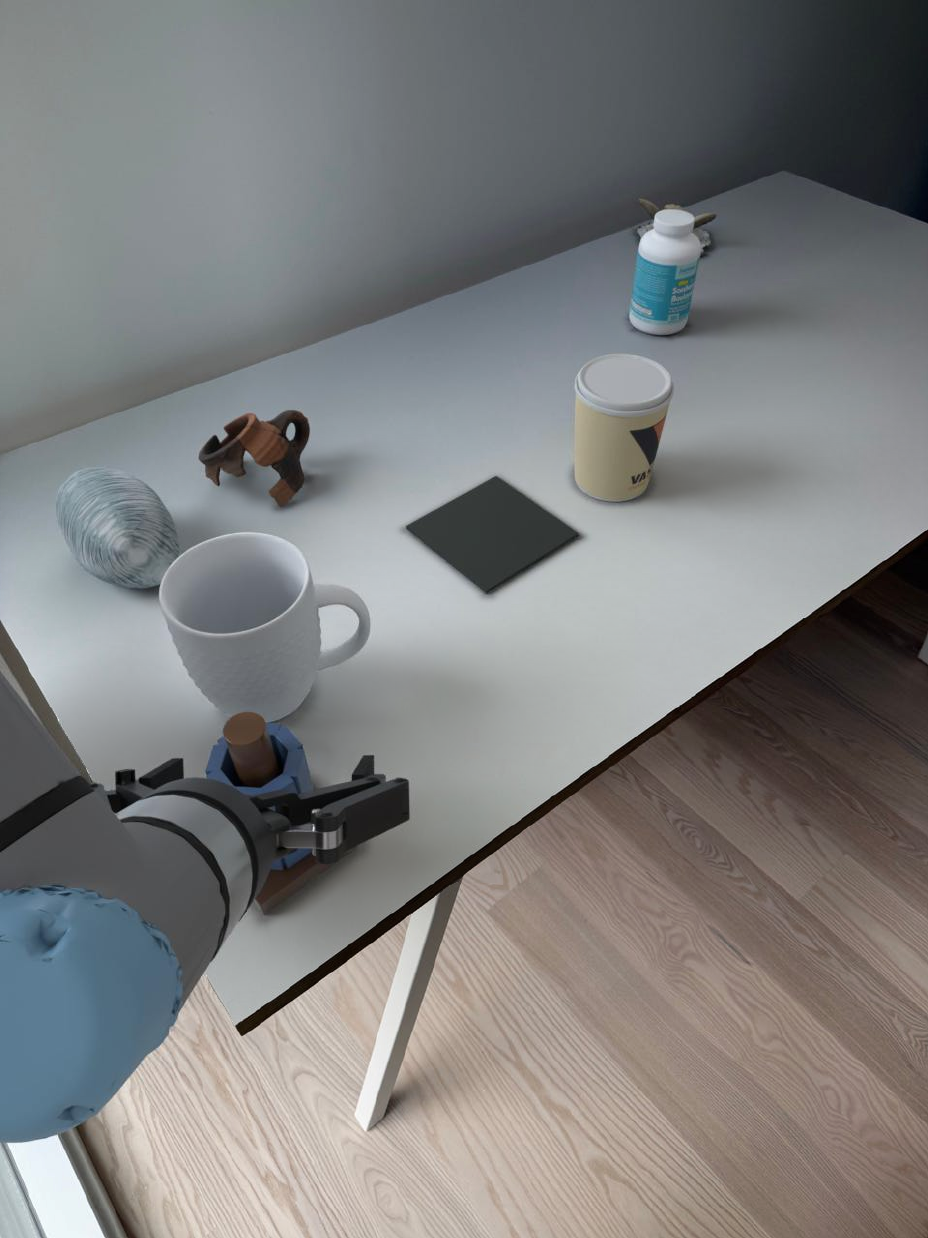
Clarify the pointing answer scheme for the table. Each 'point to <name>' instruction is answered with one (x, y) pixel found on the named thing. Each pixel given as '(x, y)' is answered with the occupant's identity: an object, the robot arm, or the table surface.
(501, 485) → the mat
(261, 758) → the dowel stand
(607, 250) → the table surface
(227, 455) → the brown looped piece
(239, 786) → the sleeve
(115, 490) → the streaked grey ellipsoid
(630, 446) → the cream lidded canister
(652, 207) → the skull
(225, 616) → the mug
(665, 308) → the pill bottle
